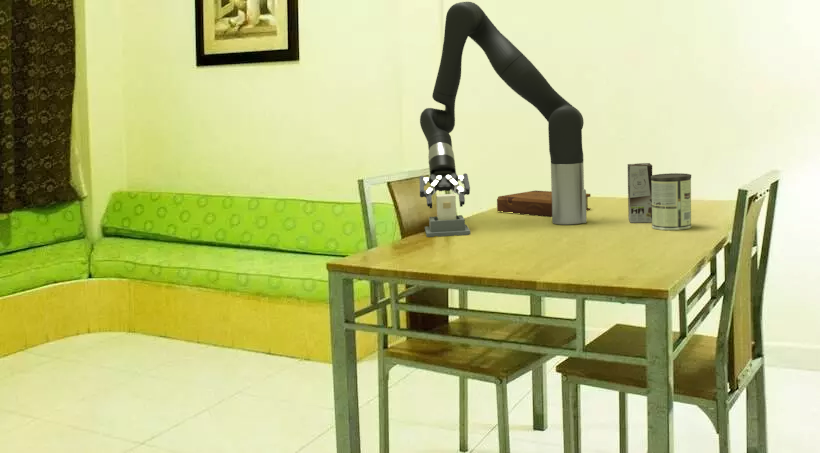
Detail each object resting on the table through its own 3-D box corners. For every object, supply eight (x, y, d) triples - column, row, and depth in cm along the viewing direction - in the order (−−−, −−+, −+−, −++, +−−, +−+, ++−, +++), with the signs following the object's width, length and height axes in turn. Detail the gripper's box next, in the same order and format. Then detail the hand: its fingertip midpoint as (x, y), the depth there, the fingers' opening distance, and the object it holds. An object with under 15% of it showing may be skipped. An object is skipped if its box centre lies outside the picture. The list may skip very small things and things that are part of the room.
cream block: (455, 227, 242) (454, 193, 241) (457, 230, 237) (455, 196, 235) (437, 227, 242) (436, 194, 241) (439, 231, 236) (437, 197, 235)
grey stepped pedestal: (466, 227, 247) (465, 214, 246) (470, 234, 234) (470, 220, 233) (424, 230, 246) (424, 216, 246) (426, 237, 234) (426, 222, 233)
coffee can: (654, 224, 236) (654, 173, 234) (693, 224, 231) (693, 173, 229) (648, 230, 227) (647, 177, 225) (688, 230, 222) (688, 176, 220)
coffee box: (653, 222, 239) (652, 165, 236) (629, 223, 240) (628, 165, 238) (650, 218, 248) (650, 162, 245) (627, 218, 249) (627, 163, 246)
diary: (497, 214, 276) (496, 196, 276) (535, 207, 288) (535, 190, 288) (552, 218, 259) (552, 199, 258) (590, 211, 271) (590, 193, 270)
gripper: (417, 154, 245) (420, 198, 236) (466, 152, 246) (472, 195, 236) (417, 171, 251) (421, 215, 242) (465, 169, 252) (471, 212, 242)
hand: (446, 205), depth 239 cm, fingers open, 8 cm apart
